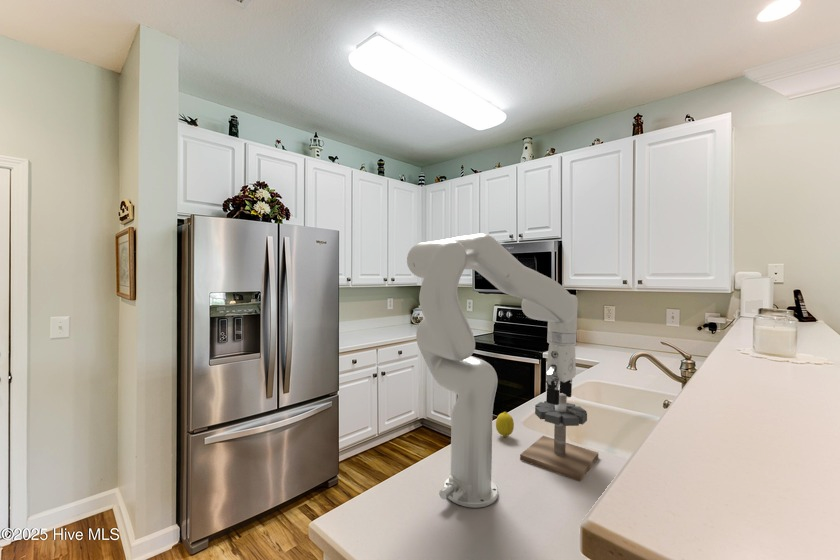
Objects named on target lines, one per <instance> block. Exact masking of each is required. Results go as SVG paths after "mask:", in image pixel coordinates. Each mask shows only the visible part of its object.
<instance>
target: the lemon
mask: <svg viewBox="0 0 840 560" xmlns="http://www.w3.org/2000/svg"><path fill="white" fill-rule="evenodd" d="M495 427H496V431H497V433H498V434H499V435H501V436H502V437H503V438H507V437H508V436H510V435H511V434H512V433H513V432H514V429H515V428H514V427H515V421H514V419H513V417H512V416H511V414H510V413H508V412H507V411H503V412H501V413H499V414H498V416H497V418H496V421H495Z"/></svg>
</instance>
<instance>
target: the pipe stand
mask: <svg viewBox="0 0 840 560" xmlns="http://www.w3.org/2000/svg"><path fill="white" fill-rule="evenodd" d="M567 398H568V397H567V395H566V394H563V393H560V392H559V404H558V405H555V410H556V411H560V412H567V411H566V403H568V402H567V401H568V400H567ZM553 425H554V426H553V427H554V428H553V429H554V432H553V433H554V436H553V437H554V438H551V437H548V436H546V435H542V436H540V437H539V438H538V439H537V440H536V441H534V442H533V443H532V444H530V446H528V447H527V448H526V449H525V450H524V451H523V452H521V453H520V455H519V460H520V461H522V462H525V463H529V464H530V465H532V466H536V467H540V468H542V469H545V470H547V471H549V472H552V473H555V474H558V475H561V476H565V477H567V478H569V479H572V480H575V481H577V482H581V481H582V480H583V479H584V477H585V476H586V474H587V473H588V472H589V471H590V469H592V467H593V465H594V464H595V463H596V461H598V459H599V452H598V451H594V450H591V449H588V448H585V447H582V446H579V445H575V444H572V443H569V442H566V439H567V437H566V436H567V426H564V425H563V424H562V423H561V424H560V425H556V424H553Z"/></svg>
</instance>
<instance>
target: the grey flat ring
mask: <svg viewBox="0 0 840 560" xmlns="http://www.w3.org/2000/svg"><path fill="white" fill-rule="evenodd" d="M534 410H535V411H534V414H535V416H536V417H538V418H539V419H540V420H544V422H546V423H550V424H552V425H555V424H556V425H560V424H561V423H562V424H563V425H564V426H566V427H569V426H570V427H573V426H574V427H578V426H580V425H584V424H585V423H586V422H587V421H588V412H587V410H585V409H584V408H583V407H581V406H580V405H579V406H576V404H575V403H570V402H566V411H567V412H560V411H556V410H555V405H554V404H550V403H547V402H546V400H545V401H539V402H538V403H537V404H535V407H534Z"/></svg>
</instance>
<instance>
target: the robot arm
mask: <svg viewBox="0 0 840 560" xmlns="http://www.w3.org/2000/svg"><path fill="white" fill-rule="evenodd" d="M406 263H407V265H406V266H407V267H408V269H409V271H410V272H411V273H412V275H414V276H416V277H417V278H421V279H422V282H421V285H420V291H419V294H418V295H419V296H418V297H419V305H420V309H421V313H422V314H423V319H422V320H420V321H419V324H418V326H417V328H416V332H415V333H416V334H415V335H416V336H415V337H416V343H417V346H418V349H419V351H420V354H421V356H422V357H423V360H424V362H425V364H426V366H427V367H428V369H429V372H430V373H431V375H432V377H433V378H434V380H435V382H436V383H437V384H438V385H440V386H441V387H442V388H444V389H446V390H448V391H450V392H452V393H454V394H455V395H457V398H456V402H455V404H454V405H453V408H452V412H451V419H450V420H451V421H450V425H451V426H450V427H451V430H450V431H451V432H450V437H451V438H450V475H449V476H448V478H446V479H445V481H444V483H443V488H442V489H441V490H439V496H440V499H442V500H443V501H444V500H447V499H448V500H450V501H451V502H453V503H454V504H457V505H459V506H462V507H466V508H474V509H476V508H477V509H478V508H483V507H487V506H490V505H492V504H493V503H495V501H497V499H498V496H499V489H498V486H497V485H496V482H494V481H493V480H492V469H493V468H492V466H493V465H492V464H493V463H492V462H493V461H492V458H493V455H492V454H493V411H494V403H495V397H496V392H497V388H498V382H499V381H498V380H499V379H498V375H497V372H496V370H495V368H494V367H493V365H491V364H490V363H489V362H487V361H485V360H484V359H481V358H478V357H475V356H472V355H473V354H474V352H475V350H476V340H475V336H474V333H473V331H472V328H471V325H470V324H469V321H468V319H467V317H466V314H465V312H464V310H463V308H462V306H461V303H460V300H459V296H458V287H459V282H460V280H461V277H462V275H463V272H464V270H474V271H475V272H477V273H478V274H479V275H481V276H482V277H483V278H485V280H487V281H488V282H489V283H490V284H491V285H492V286H494V287H495V288H496V289H498V290H499V291H500V292H502V293H503V294H505V295H509V296H511V297H515V298H518V299H521V300H522V301H521V310H522V312H523V314H524V315H525V316H526V317H527V318H529V319H531V320H535V321H536V320H537V321H543V322H547V336H546V337H547V338H546V340H547V341H546V342H547V343H548V344H549V345H548V351H547V360H546V361H547V362H546V374H545V377H546V381H545V382H546V399H545V401H546V402H547V403H550V404H554V405H558V404H559V393H563V394H566V395H567V398H571V397H572V394H573V393H572V390H573V389H572V387H573V379H574V378H575V377H576V366H577V365H576V345H577V331H578V308H579V307H578V305H579V303H578V301H579V300H578V297H577V296H576V295H575V294H571V293H570V292H569V291H568V290H567V289H566V288H565V287H563V285H562V284H560V283H559V282H557V281H556V280H554V279H552V278H551V277H548V276H547V275H544V274H543V273H540V272H539V271H537V270H535V269H532V268H530V267H527V266H525V265H524V264H523V263H521V262H520V261H519V260H518V259H517V258H516V257H515V256H514V255H513V254H512V253H511V252H510V251H508V250H507V249H506V248H505V247H504V246H503V245H502V244H501V243H500V242H498V240H496V239H495V238H494V237H493V236H491V235H489V234H487V233H475V234H468V235H460V236H456V237H451V238H445V239H439V240H431V241H425V242H419V243H416V244H415V245H413V246H412V247H411V248H410V249H409V250H408V253H407V256H406Z"/></svg>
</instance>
